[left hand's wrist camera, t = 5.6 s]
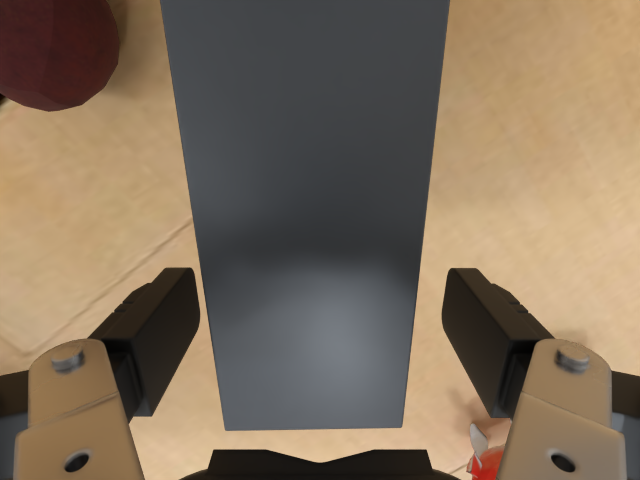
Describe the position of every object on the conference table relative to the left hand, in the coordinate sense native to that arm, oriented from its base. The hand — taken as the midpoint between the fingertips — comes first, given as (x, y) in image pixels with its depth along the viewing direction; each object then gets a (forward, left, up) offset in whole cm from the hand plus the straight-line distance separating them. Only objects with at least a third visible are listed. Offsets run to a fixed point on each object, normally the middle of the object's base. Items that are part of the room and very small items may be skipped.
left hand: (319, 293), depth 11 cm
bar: (-5, +8, -6) cm, 11 cm away
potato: (-17, +1, -15) cm, 22 cm away
